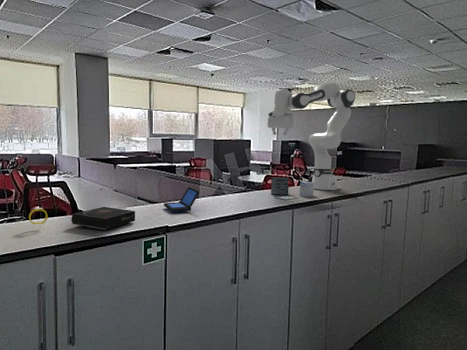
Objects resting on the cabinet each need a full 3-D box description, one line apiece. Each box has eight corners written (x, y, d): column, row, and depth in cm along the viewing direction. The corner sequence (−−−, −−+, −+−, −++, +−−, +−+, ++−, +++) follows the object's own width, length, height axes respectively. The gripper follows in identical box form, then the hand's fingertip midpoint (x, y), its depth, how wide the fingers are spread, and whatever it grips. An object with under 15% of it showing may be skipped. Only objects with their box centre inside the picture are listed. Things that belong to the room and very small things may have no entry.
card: (288, 196, 216) (288, 195, 216) (299, 198, 210) (299, 197, 210) (274, 198, 209) (275, 197, 209) (285, 200, 202) (285, 199, 202)
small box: (287, 194, 227) (288, 177, 226) (288, 195, 220) (289, 178, 219) (271, 193, 228) (271, 176, 227) (271, 194, 221) (271, 178, 220)
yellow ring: (29, 225, 131) (29, 209, 130) (28, 224, 133) (28, 208, 133) (48, 223, 135) (47, 208, 134) (46, 222, 137) (46, 206, 136)
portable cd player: (102, 215, 152) (102, 206, 152) (135, 220, 146) (135, 211, 145) (71, 223, 138) (71, 213, 137) (105, 229, 131) (105, 219, 130)
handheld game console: (163, 206, 177) (163, 187, 176) (188, 204, 183) (189, 186, 182) (172, 212, 163) (172, 192, 162) (199, 210, 169) (200, 191, 168)
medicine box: (307, 195, 223) (308, 181, 222) (313, 196, 220) (314, 182, 219) (299, 196, 218) (299, 182, 217) (305, 197, 215) (305, 183, 214)
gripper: (296, 113, 229) (295, 135, 230) (273, 114, 244) (272, 134, 246) (289, 112, 225) (288, 135, 226) (266, 113, 240) (265, 134, 242)
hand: (279, 134), depth 236 cm, fingers open, 8 cm apart
